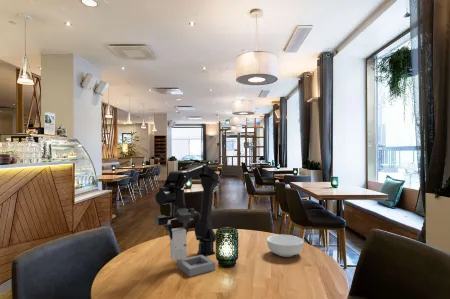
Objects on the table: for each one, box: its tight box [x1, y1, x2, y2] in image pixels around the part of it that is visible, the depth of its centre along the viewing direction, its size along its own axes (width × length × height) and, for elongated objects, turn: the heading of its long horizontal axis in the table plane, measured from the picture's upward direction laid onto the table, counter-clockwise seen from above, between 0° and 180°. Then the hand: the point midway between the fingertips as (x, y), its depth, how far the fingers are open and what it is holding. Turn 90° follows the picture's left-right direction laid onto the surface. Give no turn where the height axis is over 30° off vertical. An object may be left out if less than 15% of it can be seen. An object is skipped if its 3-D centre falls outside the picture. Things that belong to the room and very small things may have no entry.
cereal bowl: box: [266, 234, 304, 258], centre depth 137 cm, size 17×17×7 cm
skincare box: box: [169, 226, 188, 261], centre depth 121 cm, size 6×4×12 cm
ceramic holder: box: [176, 254, 217, 278], centre depth 121 cm, size 12×12×3 cm
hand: (178, 238), depth 121 cm, fingers closed on skincare box, 6 cm apart
